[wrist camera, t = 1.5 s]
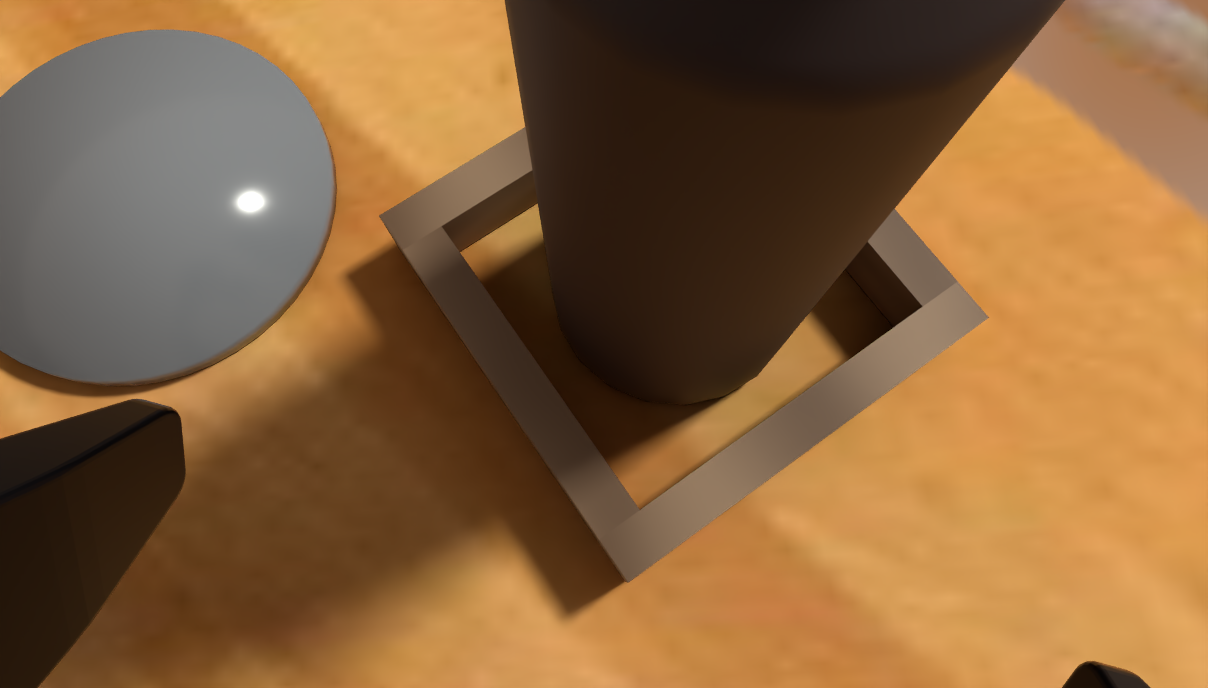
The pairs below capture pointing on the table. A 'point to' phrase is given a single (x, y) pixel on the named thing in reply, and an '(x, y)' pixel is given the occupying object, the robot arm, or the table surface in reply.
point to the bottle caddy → (628, 535)
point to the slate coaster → (155, 206)
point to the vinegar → (733, 161)
